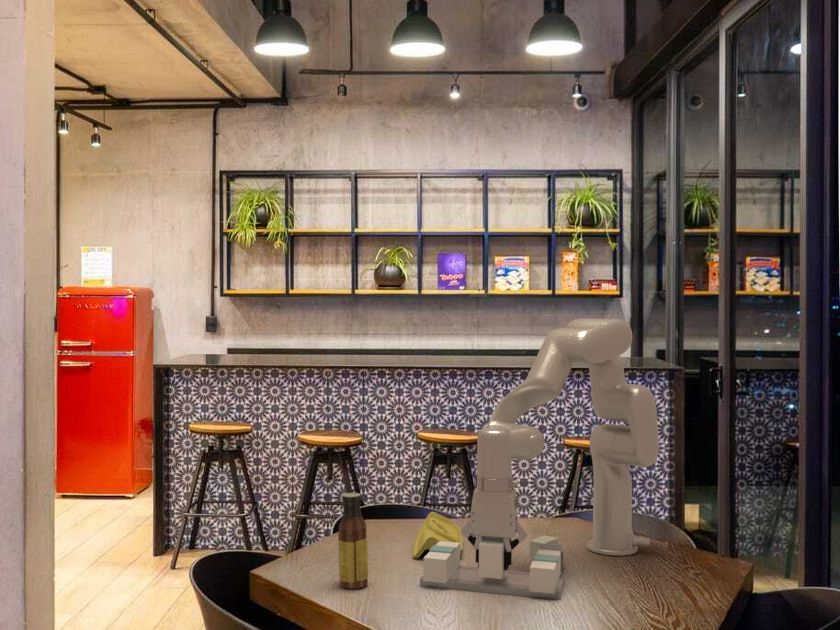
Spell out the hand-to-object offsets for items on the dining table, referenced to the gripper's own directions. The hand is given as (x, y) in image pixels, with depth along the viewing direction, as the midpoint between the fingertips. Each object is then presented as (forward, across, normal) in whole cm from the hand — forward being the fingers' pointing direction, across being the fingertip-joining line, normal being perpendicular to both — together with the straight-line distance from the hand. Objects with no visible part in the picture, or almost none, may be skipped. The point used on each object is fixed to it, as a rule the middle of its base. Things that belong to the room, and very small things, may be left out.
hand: (493, 566), depth 183 cm
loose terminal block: (+4, -8, -26) cm, 27 cm away
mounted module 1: (+2, +12, 0) cm, 12 cm away
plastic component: (+4, +18, -22) cm, 29 cm away
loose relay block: (+4, -11, -15) cm, 19 cm away
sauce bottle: (+4, +29, +10) cm, 31 cm away
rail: (+4, 0, 0) cm, 4 cm away
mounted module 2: (+2, -11, 0) cm, 12 cm away
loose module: (+1, 0, 0) cm, 1 cm away
